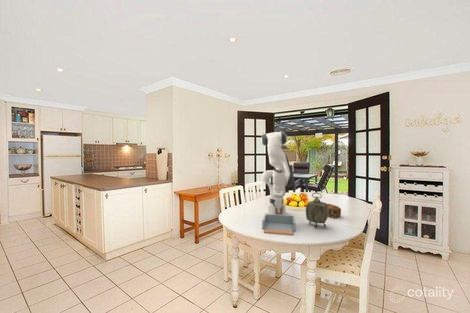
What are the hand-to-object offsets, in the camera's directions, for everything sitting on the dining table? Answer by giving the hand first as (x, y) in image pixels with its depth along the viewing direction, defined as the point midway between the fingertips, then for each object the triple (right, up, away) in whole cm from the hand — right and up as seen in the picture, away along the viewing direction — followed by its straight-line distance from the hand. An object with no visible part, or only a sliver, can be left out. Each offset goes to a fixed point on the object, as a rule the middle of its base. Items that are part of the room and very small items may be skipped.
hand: (278, 211), depth 159 cm
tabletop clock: (+28, -12, +3) cm, 31 cm away
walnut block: (0, -2, 0) cm, 2 cm away
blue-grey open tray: (0, -12, +1) cm, 12 cm away
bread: (+49, -12, +32) cm, 59 cm away
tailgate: (-2, -11, -8) cm, 14 cm away
